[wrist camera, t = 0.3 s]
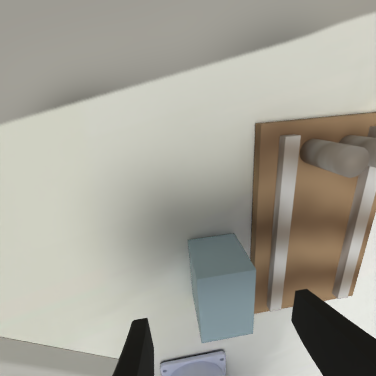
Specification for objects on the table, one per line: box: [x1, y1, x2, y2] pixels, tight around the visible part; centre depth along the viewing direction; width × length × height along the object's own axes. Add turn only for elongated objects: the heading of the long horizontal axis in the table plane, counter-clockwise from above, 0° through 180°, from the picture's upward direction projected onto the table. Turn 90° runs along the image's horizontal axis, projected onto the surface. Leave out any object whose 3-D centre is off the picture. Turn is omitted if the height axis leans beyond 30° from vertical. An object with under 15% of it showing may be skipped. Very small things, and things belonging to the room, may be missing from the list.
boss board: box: [251, 112, 376, 314], centre depth 18 cm, size 20×12×5 cm, turn 5°
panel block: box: [188, 233, 256, 343], centre depth 19 cm, size 7×4×5 cm, turn 5°
